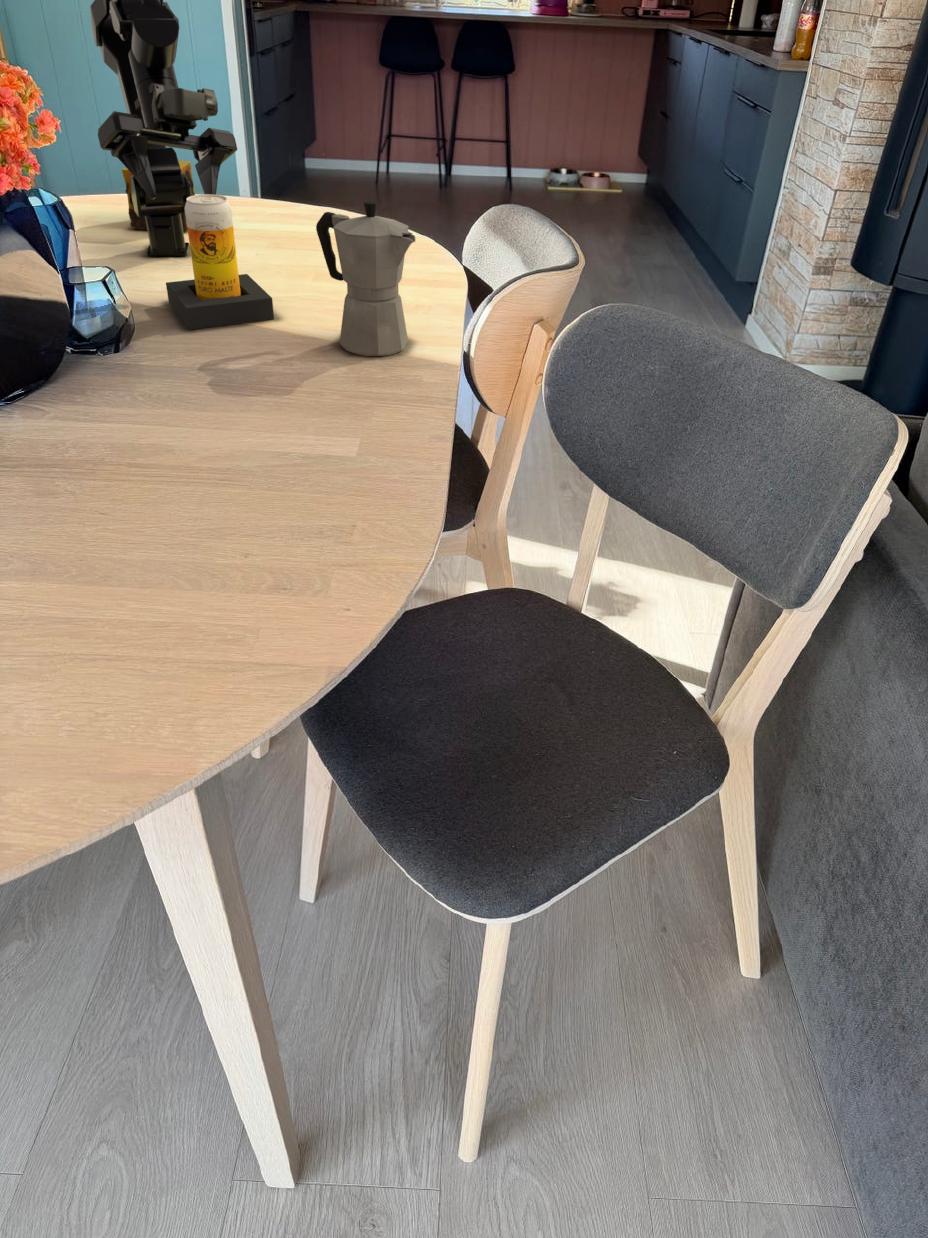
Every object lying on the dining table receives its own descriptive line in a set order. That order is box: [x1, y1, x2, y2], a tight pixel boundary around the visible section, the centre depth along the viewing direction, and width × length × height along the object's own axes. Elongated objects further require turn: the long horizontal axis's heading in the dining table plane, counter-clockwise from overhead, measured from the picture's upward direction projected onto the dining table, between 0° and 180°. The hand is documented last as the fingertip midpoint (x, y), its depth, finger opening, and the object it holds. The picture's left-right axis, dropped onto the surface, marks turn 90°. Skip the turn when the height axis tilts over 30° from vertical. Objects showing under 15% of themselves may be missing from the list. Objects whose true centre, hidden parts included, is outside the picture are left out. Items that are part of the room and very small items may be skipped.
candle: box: [121, 160, 196, 232], centre depth 163 cm, size 10×10×10 cm
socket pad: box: [165, 273, 275, 331], centre depth 128 cm, size 12×12×3 cm
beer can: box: [185, 193, 241, 300], centre depth 125 cm, size 6×6×15 cm
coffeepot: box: [315, 199, 416, 357], centre depth 116 cm, size 15×9×18 cm, turn 57°
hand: (183, 201), depth 128 cm, fingers open, 9 cm apart
